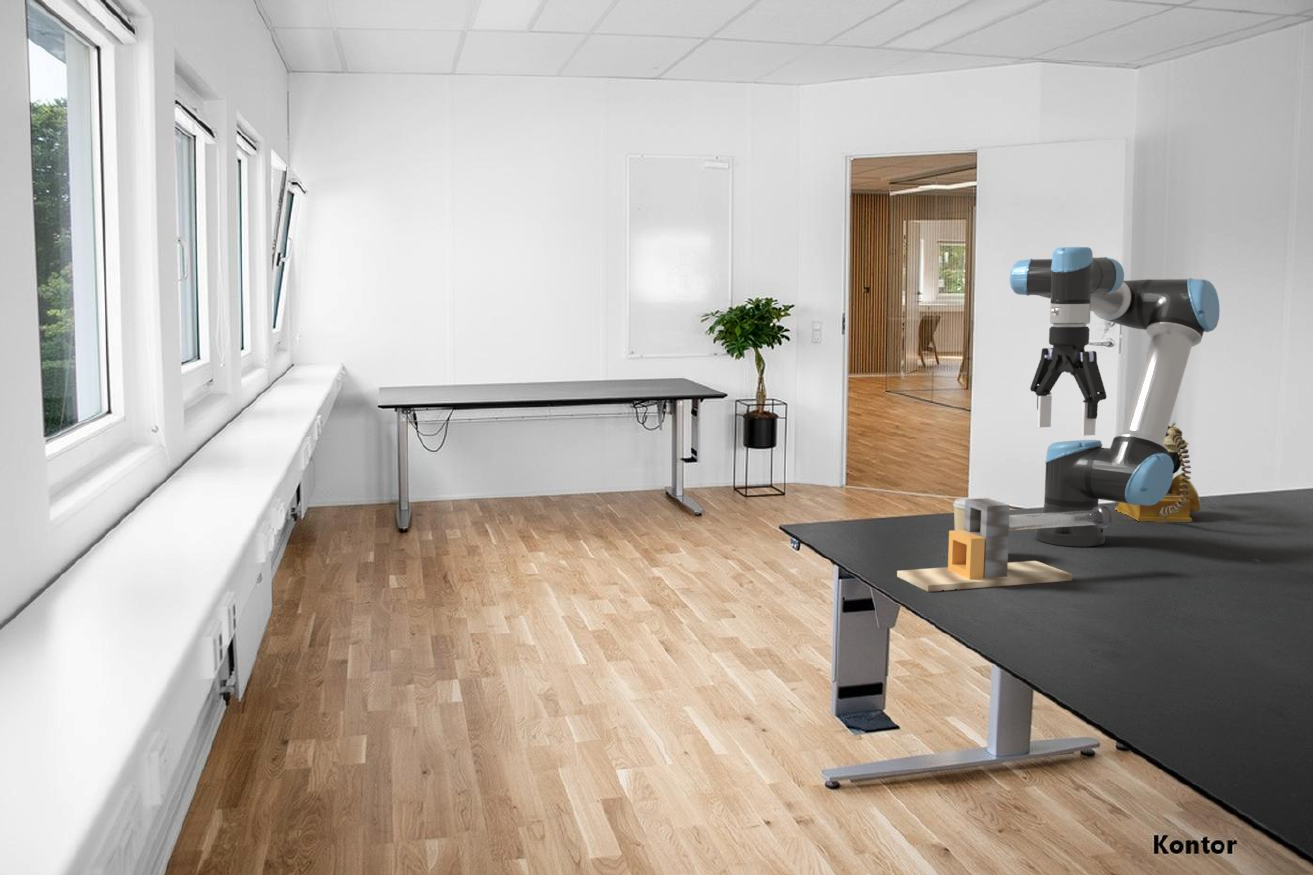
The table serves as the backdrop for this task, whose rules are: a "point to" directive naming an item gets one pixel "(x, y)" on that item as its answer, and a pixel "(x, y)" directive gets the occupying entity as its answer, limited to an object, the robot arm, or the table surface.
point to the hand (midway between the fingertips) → (1065, 431)
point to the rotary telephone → (1180, 493)
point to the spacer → (966, 554)
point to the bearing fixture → (986, 555)
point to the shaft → (1062, 519)
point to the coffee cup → (960, 513)
